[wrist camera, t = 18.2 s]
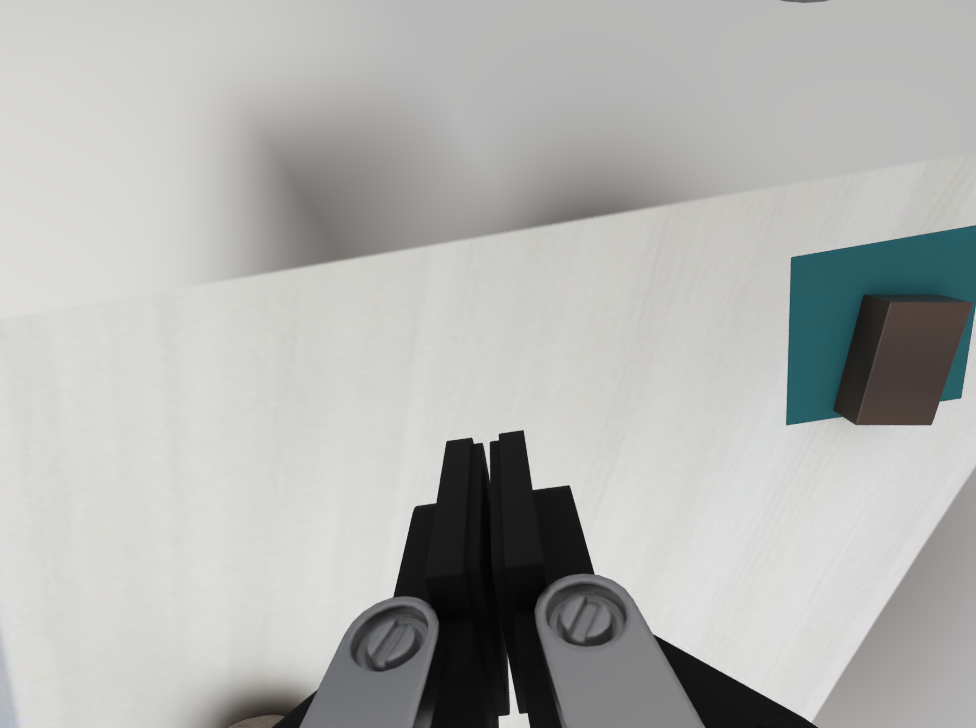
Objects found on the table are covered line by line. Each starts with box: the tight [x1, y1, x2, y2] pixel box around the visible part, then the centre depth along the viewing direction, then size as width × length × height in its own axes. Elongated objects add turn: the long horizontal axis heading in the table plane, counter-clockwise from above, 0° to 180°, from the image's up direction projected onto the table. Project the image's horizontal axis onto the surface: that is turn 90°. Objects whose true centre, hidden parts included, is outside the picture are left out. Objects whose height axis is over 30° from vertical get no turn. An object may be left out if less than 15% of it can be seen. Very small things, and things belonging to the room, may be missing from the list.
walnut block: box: [833, 295, 973, 425], centre depth 35 cm, size 9×6×2 cm, turn 0°
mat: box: [786, 226, 976, 425], centre depth 36 cm, size 13×13×1 cm
